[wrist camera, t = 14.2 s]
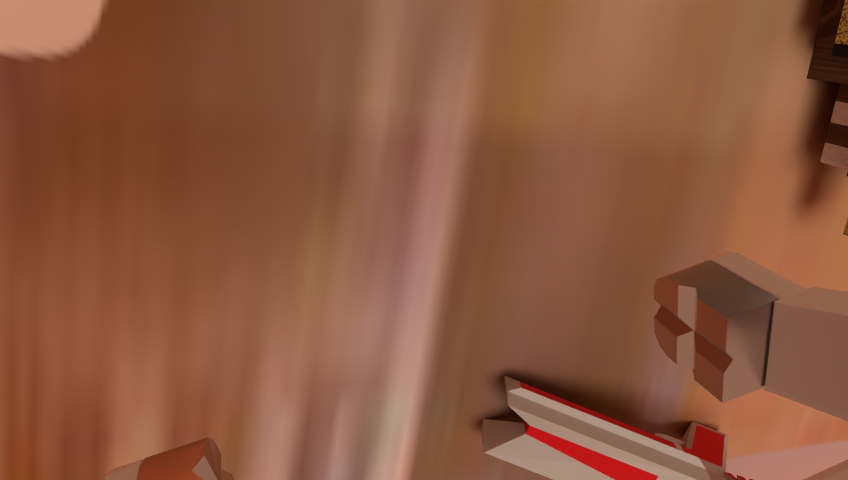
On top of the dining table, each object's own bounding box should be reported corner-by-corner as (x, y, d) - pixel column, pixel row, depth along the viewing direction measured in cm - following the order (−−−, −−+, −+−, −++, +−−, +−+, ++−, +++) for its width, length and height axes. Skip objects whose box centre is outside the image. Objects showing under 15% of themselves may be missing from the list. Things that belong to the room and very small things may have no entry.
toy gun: (502, 324, 60) (512, 399, 46) (739, 418, 61) (822, 521, 47) (477, 376, 62) (479, 464, 48) (707, 467, 63) (778, 580, 49)
